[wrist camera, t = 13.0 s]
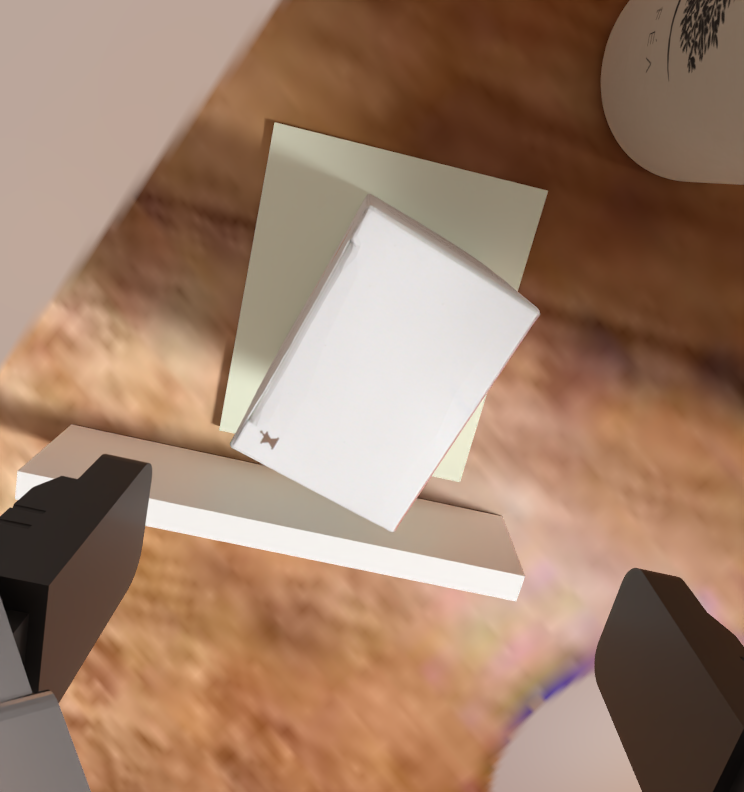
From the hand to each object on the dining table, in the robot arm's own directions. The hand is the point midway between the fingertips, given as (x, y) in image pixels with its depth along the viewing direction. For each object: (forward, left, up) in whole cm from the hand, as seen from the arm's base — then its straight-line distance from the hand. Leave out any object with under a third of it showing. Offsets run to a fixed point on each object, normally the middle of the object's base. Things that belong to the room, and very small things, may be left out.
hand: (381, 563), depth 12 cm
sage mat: (0, 0, -19) cm, 19 cm away
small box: (0, -1, -19) cm, 19 cm away
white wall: (+2, +8, -19) cm, 21 cm away
